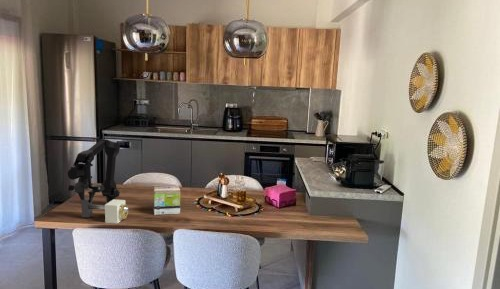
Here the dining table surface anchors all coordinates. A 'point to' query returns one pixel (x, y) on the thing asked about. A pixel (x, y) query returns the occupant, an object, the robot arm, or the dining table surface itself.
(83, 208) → the shaft
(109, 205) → the bearing block
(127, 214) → the spacer
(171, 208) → the tea box
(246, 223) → the dining table surface
